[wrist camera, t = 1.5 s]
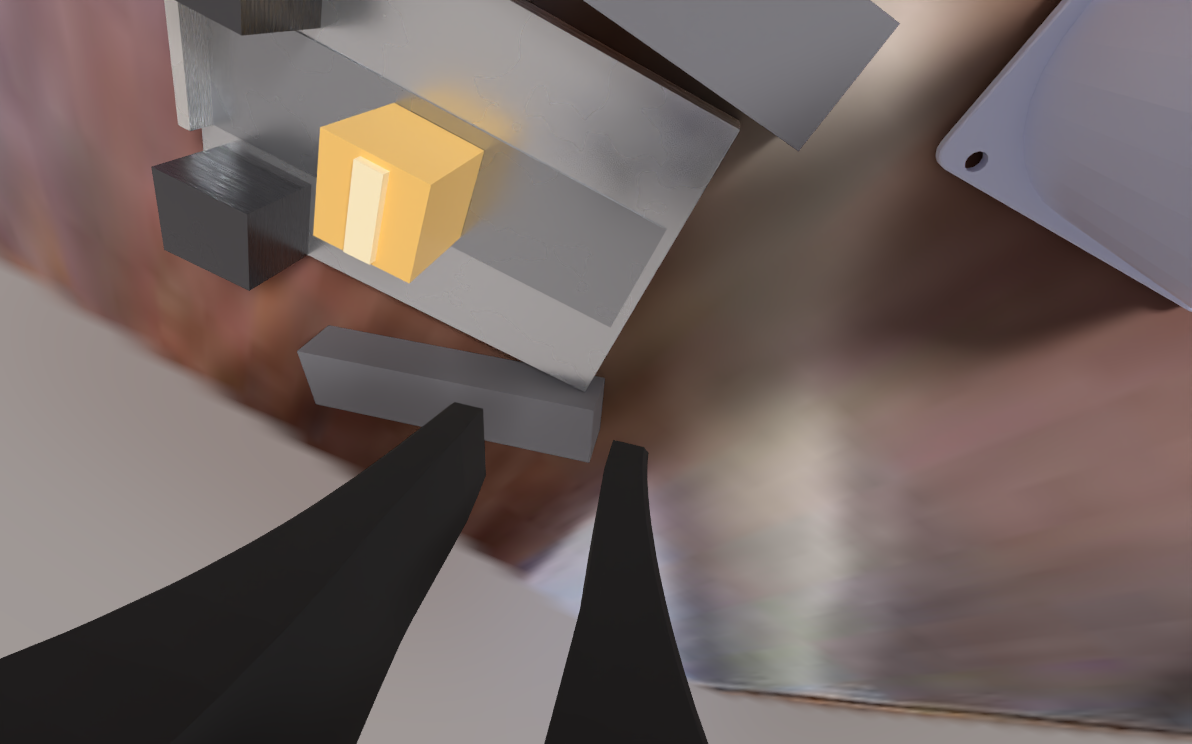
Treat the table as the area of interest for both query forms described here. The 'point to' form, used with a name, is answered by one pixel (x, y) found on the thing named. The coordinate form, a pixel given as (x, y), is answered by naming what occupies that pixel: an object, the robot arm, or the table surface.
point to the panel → (466, 109)
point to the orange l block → (393, 189)
